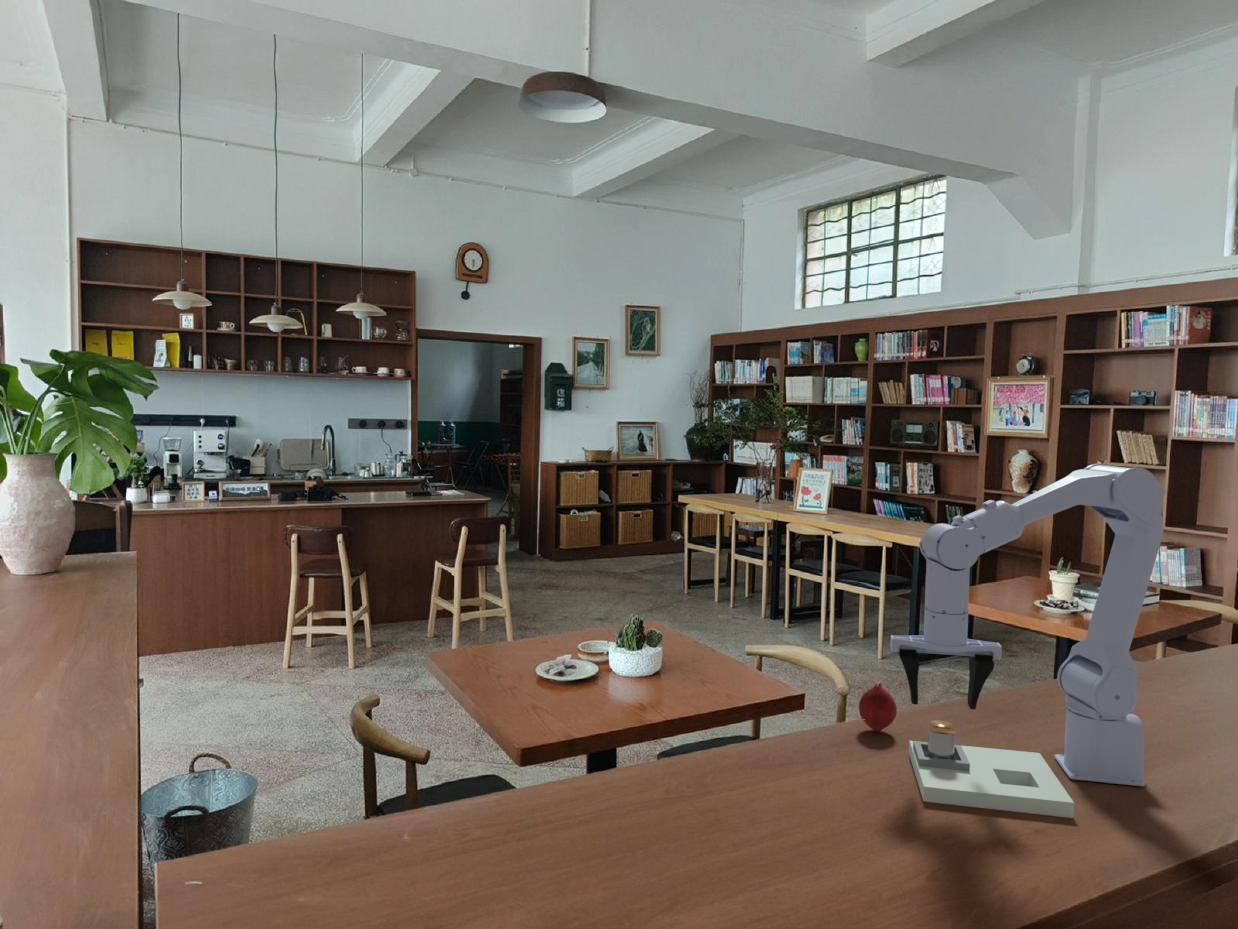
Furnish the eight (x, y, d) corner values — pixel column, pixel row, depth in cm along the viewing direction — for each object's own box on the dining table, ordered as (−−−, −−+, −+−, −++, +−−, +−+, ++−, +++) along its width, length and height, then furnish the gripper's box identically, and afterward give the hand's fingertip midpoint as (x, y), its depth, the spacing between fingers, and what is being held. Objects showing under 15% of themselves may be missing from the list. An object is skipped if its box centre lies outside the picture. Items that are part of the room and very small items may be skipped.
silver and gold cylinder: (951, 770, 119) (953, 721, 118) (955, 780, 115) (956, 730, 115) (925, 767, 120) (927, 719, 119) (928, 777, 116) (930, 727, 116)
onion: (897, 740, 130) (899, 689, 129) (859, 736, 131) (861, 687, 130) (893, 726, 135) (895, 678, 135) (856, 723, 136) (858, 675, 136)
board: (1039, 766, 120) (1039, 746, 120) (1073, 818, 105) (1074, 795, 105) (908, 753, 124) (909, 734, 124) (923, 801, 109) (924, 779, 109)
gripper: (995, 606, 119) (991, 699, 119) (889, 600, 122) (886, 691, 123) (1006, 618, 112) (1002, 716, 113) (894, 611, 115) (891, 707, 116)
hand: (942, 704), depth 117 cm, fingers open, 7 cm apart
